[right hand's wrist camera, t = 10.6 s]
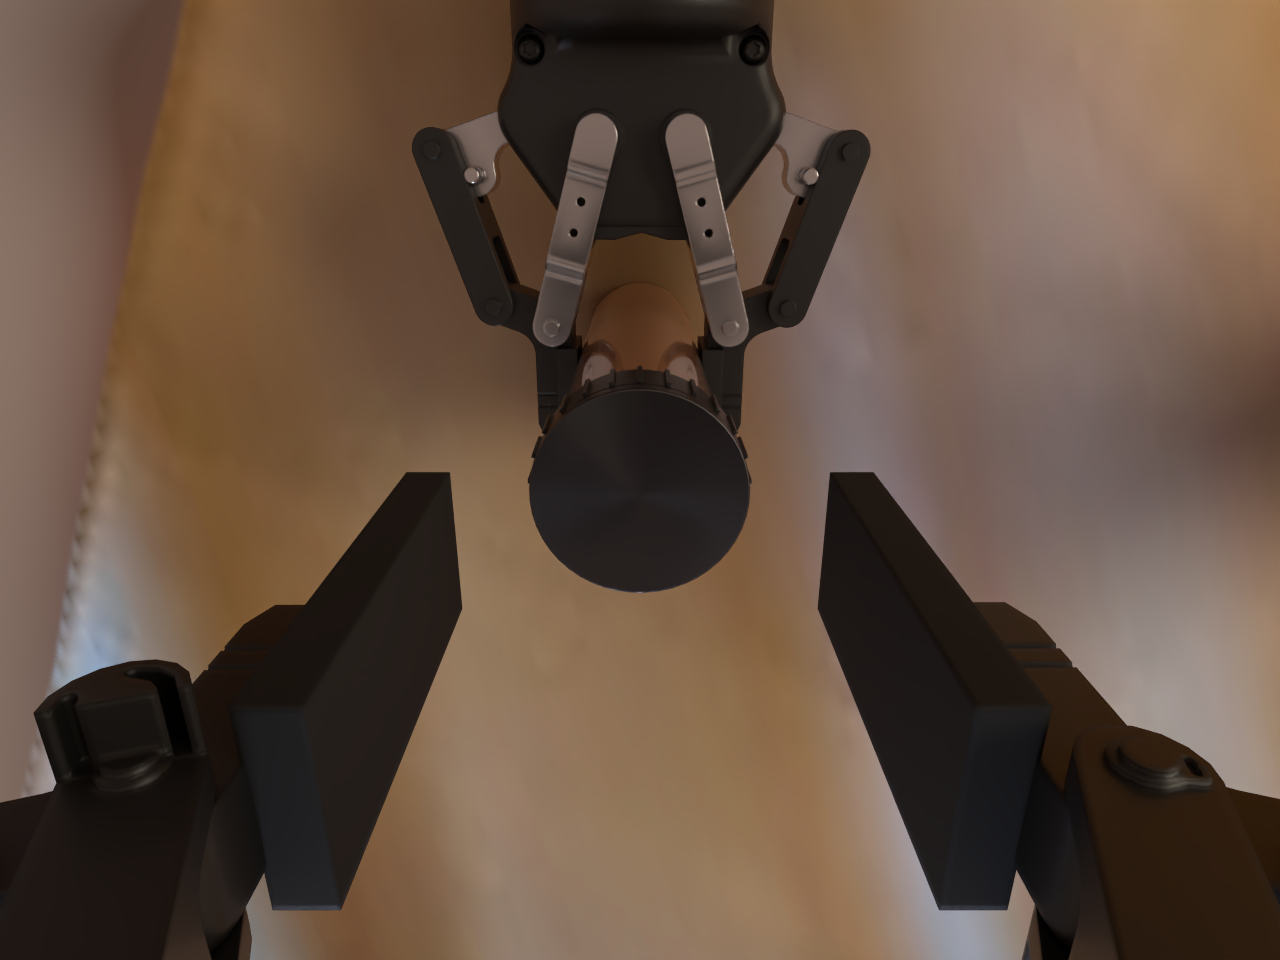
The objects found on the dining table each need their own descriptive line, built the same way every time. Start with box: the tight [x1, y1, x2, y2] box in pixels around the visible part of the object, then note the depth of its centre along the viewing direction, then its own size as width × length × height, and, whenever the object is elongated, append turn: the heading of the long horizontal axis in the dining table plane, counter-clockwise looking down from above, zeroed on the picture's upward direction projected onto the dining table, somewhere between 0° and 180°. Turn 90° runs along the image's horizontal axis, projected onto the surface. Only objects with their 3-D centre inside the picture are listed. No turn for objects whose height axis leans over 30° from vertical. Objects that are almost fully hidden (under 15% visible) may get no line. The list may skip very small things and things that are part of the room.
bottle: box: [568, 283, 711, 396], centre depth 25 cm, size 4×4×17 cm
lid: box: [528, 366, 751, 593], centre depth 17 cm, size 5×5×2 cm
